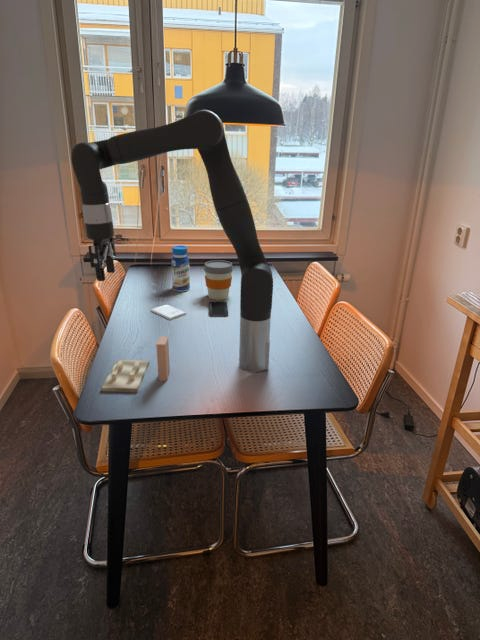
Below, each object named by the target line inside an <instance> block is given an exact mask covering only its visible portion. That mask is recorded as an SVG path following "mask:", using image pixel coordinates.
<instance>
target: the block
mask: <svg viewBox="0 0 480 640" xmlns="http://www.w3.org/2000/svg"><path fill="white" fill-rule="evenodd" d="M156 361H157V373H158V374H157V376H158V377H157V378H158V381H166V382H167V381H168V379H169V376H170V374H171V370H170V369H171V367H170V366H171V365H170V346H169V337H168V336H159V337H158V340H157V342H156Z"/></svg>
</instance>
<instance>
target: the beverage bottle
mask: <svg viewBox="0 0 480 640" xmlns="http://www.w3.org/2000/svg"><path fill="white" fill-rule="evenodd" d="M171 249H172V250H171V252H172V255H173V256H172V258H171V261H170V263H171V267H170V270H171V285H172V286H171V288H172V290H173V291H175V292H178V293H179V292H187V291H189V290H190V288H191V282H190V281H191V280H190V259H189V257H188V256H187V255H188V247H187V245H186V246H185V245H174V246H172V248H171Z"/></svg>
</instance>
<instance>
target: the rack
mask: <svg viewBox="0 0 480 640" xmlns="http://www.w3.org/2000/svg"><path fill="white" fill-rule="evenodd" d="M149 366H150V360H140V359H139V360H137V359H136V360H135V359H117V360H116V362H115V364H114V365H113V367H112V368H111V371H110V372H109V373H108V376H107V378H106V379H105V381H104V382H103V384H102V387H101V391H102V392H114V393H117V392H119V393H122V392H124V393H139V389H140V387H141V385H142V382H143V380H144V378H145V375H146V373H147V371H148V368H149Z"/></svg>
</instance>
